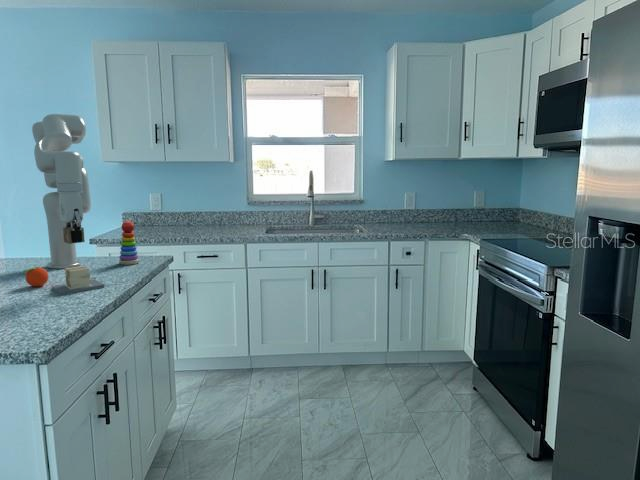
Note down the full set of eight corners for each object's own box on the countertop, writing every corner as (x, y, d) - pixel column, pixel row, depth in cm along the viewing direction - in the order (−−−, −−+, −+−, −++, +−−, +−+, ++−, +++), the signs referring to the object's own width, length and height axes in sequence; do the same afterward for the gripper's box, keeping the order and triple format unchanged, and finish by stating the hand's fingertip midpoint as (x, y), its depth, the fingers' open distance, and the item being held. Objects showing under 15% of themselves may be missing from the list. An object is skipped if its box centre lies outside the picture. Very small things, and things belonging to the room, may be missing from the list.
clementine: (29, 290, 152) (27, 270, 151) (19, 287, 156) (17, 268, 154) (53, 285, 159) (51, 266, 158) (43, 282, 162) (41, 263, 161)
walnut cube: (64, 242, 153) (62, 227, 152) (79, 240, 156) (78, 226, 155) (68, 243, 149) (67, 229, 148) (84, 242, 153) (83, 227, 152)
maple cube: (66, 284, 155) (64, 268, 154) (84, 282, 160) (83, 265, 159) (71, 288, 151) (70, 271, 150) (90, 285, 155) (88, 268, 154)
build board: (52, 289, 154) (51, 286, 154) (94, 281, 164) (94, 279, 164) (60, 295, 147) (60, 291, 147) (104, 287, 157) (104, 284, 157)
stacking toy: (131, 265, 191) (129, 222, 188) (115, 264, 192) (112, 222, 189) (142, 261, 198) (140, 220, 195) (126, 261, 200) (124, 220, 197)
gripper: (50, 187, 153) (55, 239, 156) (65, 189, 141) (70, 245, 144) (74, 187, 158) (78, 237, 161) (90, 189, 146) (94, 243, 149)
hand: (74, 240), depth 153 cm, fingers closed on walnut cube, 5 cm apart
